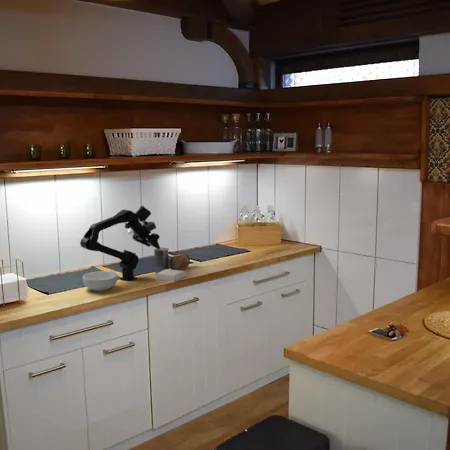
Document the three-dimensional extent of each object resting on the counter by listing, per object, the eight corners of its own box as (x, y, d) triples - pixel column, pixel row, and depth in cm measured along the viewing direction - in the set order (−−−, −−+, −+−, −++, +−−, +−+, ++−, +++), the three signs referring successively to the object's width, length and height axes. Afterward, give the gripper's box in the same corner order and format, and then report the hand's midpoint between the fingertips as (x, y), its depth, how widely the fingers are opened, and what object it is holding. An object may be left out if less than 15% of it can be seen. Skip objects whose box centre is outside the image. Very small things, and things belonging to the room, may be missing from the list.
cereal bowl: (76, 289, 272) (75, 275, 271) (104, 282, 284) (104, 269, 283) (96, 296, 260) (95, 281, 259) (124, 288, 272) (124, 274, 271)
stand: (174, 281, 285) (173, 275, 284) (155, 279, 289) (155, 273, 289) (184, 276, 295) (184, 271, 294) (166, 274, 299) (166, 269, 299)
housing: (163, 273, 301) (163, 250, 299) (154, 272, 303) (154, 249, 301) (169, 271, 306) (168, 248, 304) (160, 270, 308) (159, 247, 306)
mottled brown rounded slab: (172, 272, 304) (172, 257, 303) (168, 271, 306) (168, 256, 305) (190, 267, 316) (190, 252, 315) (186, 266, 318) (185, 252, 317)
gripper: (157, 219, 286) (173, 238, 295) (137, 215, 300) (154, 234, 309) (143, 234, 282) (160, 254, 290) (124, 230, 296) (141, 249, 304)
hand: (154, 247), depth 299 cm, fingers open, 9 cm apart
